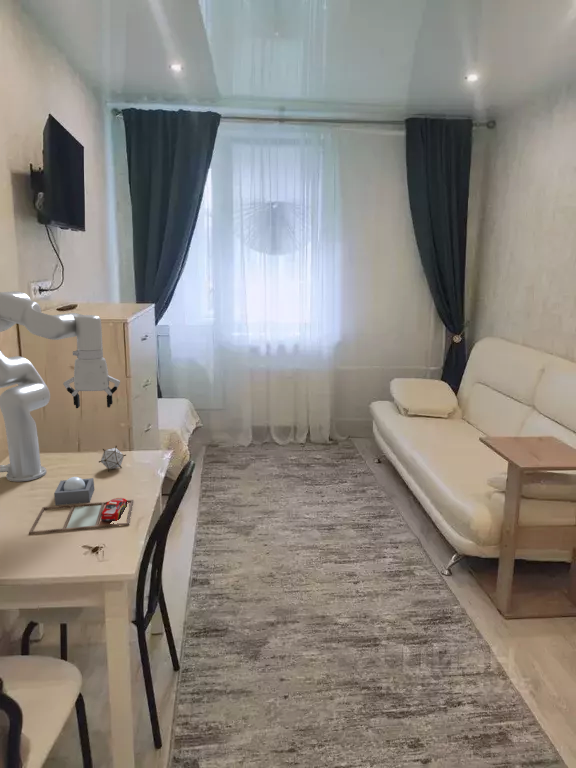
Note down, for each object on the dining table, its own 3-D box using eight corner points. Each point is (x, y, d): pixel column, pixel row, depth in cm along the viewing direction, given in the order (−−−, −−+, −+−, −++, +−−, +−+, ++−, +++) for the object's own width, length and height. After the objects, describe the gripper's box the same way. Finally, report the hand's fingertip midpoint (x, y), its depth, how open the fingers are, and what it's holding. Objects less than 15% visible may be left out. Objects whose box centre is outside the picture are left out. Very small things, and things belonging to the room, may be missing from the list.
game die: (108, 479, 196) (88, 460, 193) (120, 464, 203) (101, 445, 200) (123, 472, 191) (103, 452, 188) (135, 456, 198) (116, 436, 195)
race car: (112, 504, 167) (111, 492, 166) (129, 504, 167) (129, 491, 167) (98, 524, 154) (96, 511, 154) (117, 524, 154) (116, 510, 154)
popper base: (55, 505, 167) (54, 493, 166) (61, 492, 176) (60, 480, 175) (89, 502, 169) (88, 490, 168) (94, 489, 178) (93, 478, 177)
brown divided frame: (28, 534, 149) (28, 532, 149) (42, 509, 164) (42, 507, 164) (129, 525, 154) (129, 523, 154) (133, 501, 169) (133, 499, 169)
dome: (62, 501, 169) (60, 482, 167) (66, 493, 175) (64, 474, 174) (84, 499, 170) (82, 480, 169) (87, 491, 176) (86, 473, 175)
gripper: (58, 357, 167) (62, 410, 171) (117, 356, 170) (119, 409, 174) (64, 352, 175) (67, 404, 178) (120, 352, 178) (122, 403, 181)
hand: (93, 406), depth 176 cm, fingers open, 9 cm apart
